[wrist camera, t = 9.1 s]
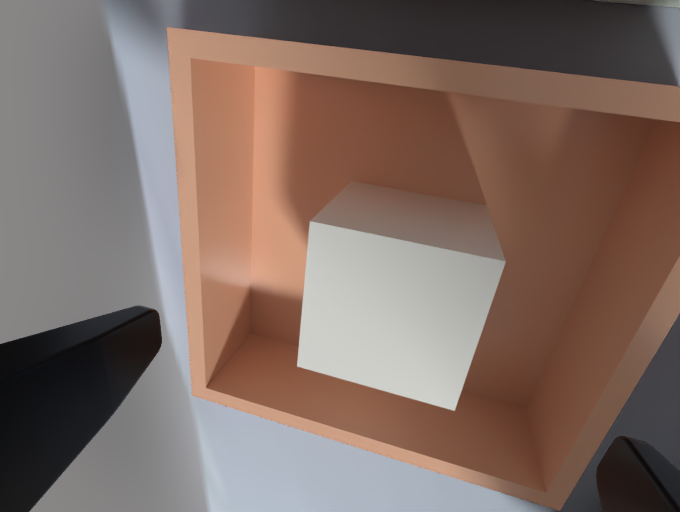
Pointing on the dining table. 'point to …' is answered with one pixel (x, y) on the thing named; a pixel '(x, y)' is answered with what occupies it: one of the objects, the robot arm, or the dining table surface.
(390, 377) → the grey block
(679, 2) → the pale green tray
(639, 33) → the dining table surface
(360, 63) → the terracotta bin
